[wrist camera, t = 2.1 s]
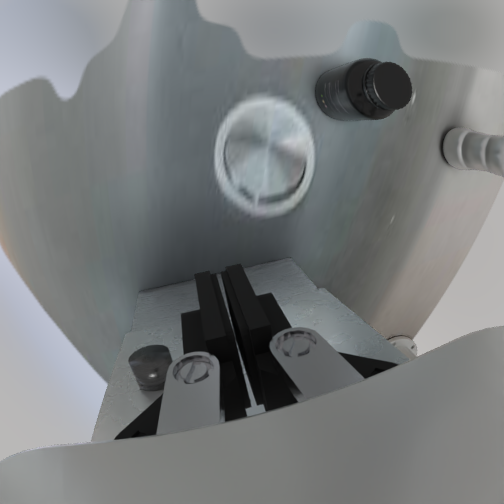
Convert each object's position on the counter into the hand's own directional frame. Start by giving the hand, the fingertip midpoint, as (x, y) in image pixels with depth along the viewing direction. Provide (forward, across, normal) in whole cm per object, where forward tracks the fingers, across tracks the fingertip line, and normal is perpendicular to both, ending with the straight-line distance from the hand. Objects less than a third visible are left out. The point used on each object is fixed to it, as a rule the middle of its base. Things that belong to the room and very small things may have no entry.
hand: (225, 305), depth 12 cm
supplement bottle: (+27, -20, -8) cm, 35 cm away
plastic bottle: (+27, -40, 0) cm, 48 cm away
